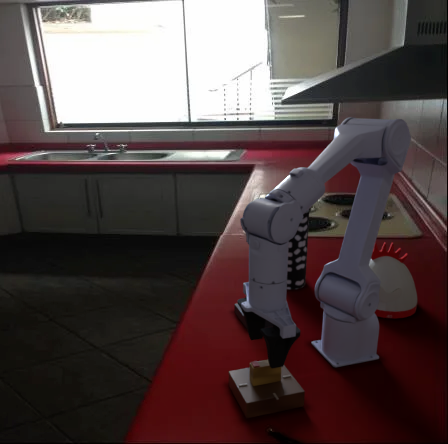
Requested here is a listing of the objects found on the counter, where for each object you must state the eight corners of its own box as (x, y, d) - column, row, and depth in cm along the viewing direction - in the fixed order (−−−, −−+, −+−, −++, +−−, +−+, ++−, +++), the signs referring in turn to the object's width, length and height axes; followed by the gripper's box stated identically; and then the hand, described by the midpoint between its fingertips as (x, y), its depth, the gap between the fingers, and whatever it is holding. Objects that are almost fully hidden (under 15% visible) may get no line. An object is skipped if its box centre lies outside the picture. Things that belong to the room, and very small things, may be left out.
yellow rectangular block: (276, 374, 71) (277, 356, 70) (281, 381, 70) (281, 362, 68) (249, 380, 70) (249, 361, 69) (253, 386, 69) (253, 367, 68)
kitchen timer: (348, 285, 106) (353, 230, 101) (410, 292, 101) (419, 234, 96) (350, 313, 94) (356, 251, 89) (421, 322, 89) (431, 257, 84)
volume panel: (279, 373, 76) (279, 358, 75) (306, 409, 67) (307, 393, 66) (227, 383, 74) (227, 368, 73) (247, 421, 66) (248, 405, 65)
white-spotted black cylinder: (305, 291, 105) (309, 215, 98) (270, 287, 107) (273, 213, 101) (305, 276, 112) (309, 205, 106) (273, 274, 115) (275, 204, 108)
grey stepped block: (274, 305, 99) (274, 290, 97) (290, 323, 91) (291, 307, 90) (234, 312, 97) (234, 296, 96) (247, 330, 89) (248, 314, 88)
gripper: (226, 261, 70) (226, 331, 74) (263, 302, 56) (261, 385, 61) (265, 256, 71) (263, 325, 75) (311, 294, 58) (306, 376, 62)
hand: (265, 351), depth 68 cm, fingers open, 7 cm apart
